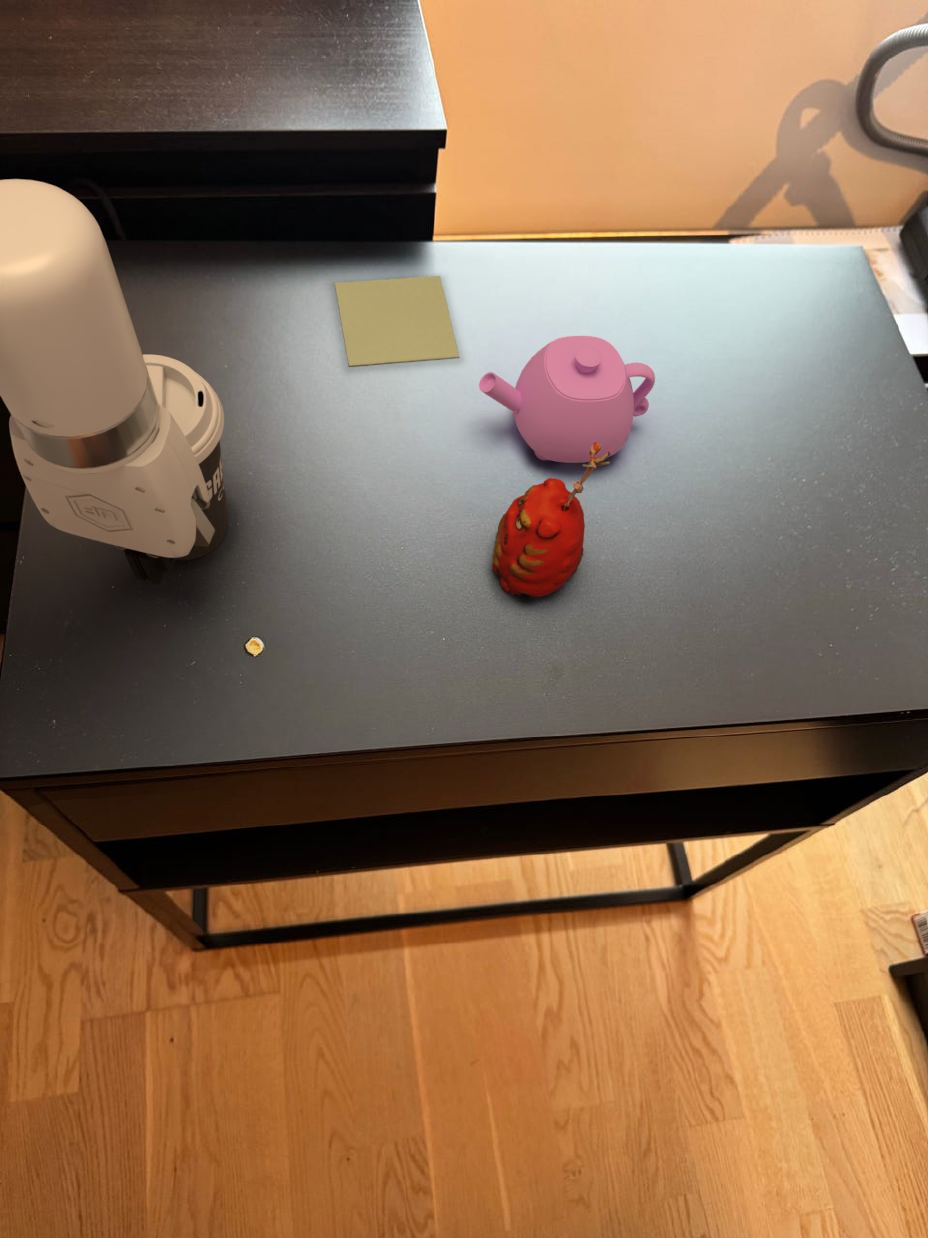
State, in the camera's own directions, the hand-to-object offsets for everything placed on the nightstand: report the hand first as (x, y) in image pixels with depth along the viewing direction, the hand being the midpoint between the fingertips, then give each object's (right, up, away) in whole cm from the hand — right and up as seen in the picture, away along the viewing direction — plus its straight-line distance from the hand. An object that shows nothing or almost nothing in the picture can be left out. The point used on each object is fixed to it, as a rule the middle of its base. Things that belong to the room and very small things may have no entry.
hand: (156, 565), depth 67 cm
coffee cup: (+1, +3, +5) cm, 6 cm away
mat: (+17, +24, +16) cm, 33 cm away
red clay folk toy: (+28, 0, +6) cm, 29 cm away
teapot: (+31, +13, +13) cm, 36 cm away
